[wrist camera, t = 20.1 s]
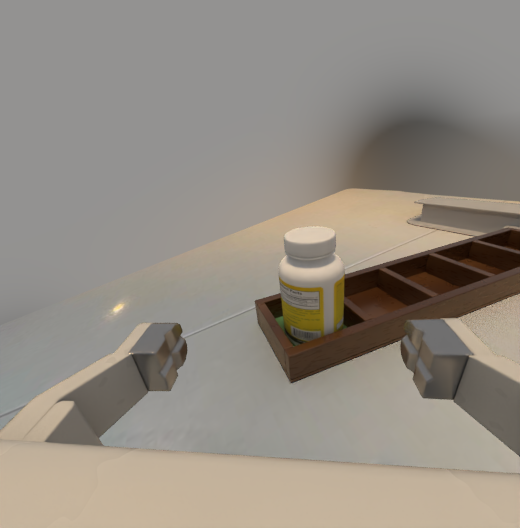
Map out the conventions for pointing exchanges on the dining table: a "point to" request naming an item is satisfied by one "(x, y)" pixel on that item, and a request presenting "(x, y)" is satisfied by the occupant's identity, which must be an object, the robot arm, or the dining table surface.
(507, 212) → the grey hinged lid tray
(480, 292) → the rack
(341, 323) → the supplement bottle
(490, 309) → the dining table surface
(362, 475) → the robot arm
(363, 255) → the dining table surface
